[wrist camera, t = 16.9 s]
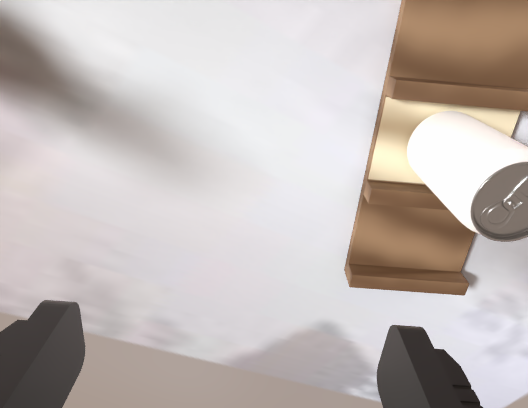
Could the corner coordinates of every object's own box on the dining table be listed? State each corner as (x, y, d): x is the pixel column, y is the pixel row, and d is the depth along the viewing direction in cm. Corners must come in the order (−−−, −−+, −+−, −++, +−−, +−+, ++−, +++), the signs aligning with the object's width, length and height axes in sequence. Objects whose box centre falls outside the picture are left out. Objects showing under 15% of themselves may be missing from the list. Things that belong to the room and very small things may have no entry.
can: (390, 151, 36) (442, 212, 26) (444, 93, 34) (527, 134, 23) (438, 191, 38) (507, 263, 27) (493, 138, 36) (592, 195, 25)
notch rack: (414, -56, 30) (428, -62, 28) (567, -40, 31) (596, -45, 28) (344, 269, 44) (349, 287, 41) (452, 277, 44) (464, 295, 41)
